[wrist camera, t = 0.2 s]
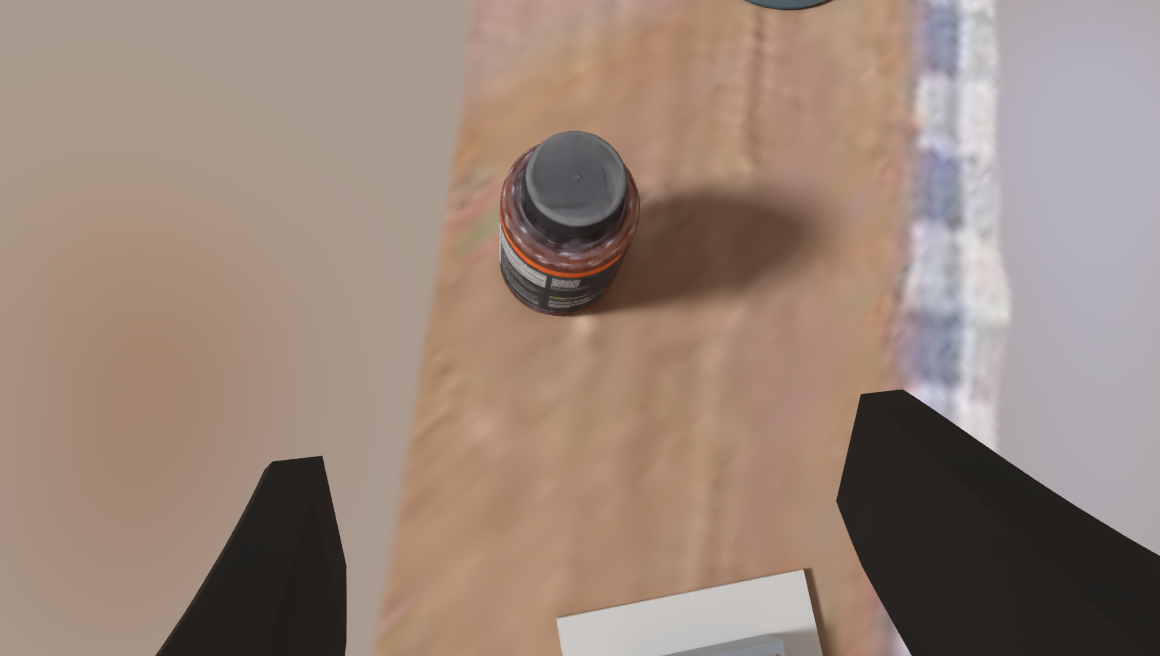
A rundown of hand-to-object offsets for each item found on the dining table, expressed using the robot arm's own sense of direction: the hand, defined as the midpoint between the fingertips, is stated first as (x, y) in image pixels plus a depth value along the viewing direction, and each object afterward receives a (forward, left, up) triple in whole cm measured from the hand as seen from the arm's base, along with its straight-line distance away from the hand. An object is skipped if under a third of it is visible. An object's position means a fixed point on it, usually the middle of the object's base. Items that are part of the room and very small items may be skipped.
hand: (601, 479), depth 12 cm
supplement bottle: (+12, -4, -32) cm, 34 cm away
